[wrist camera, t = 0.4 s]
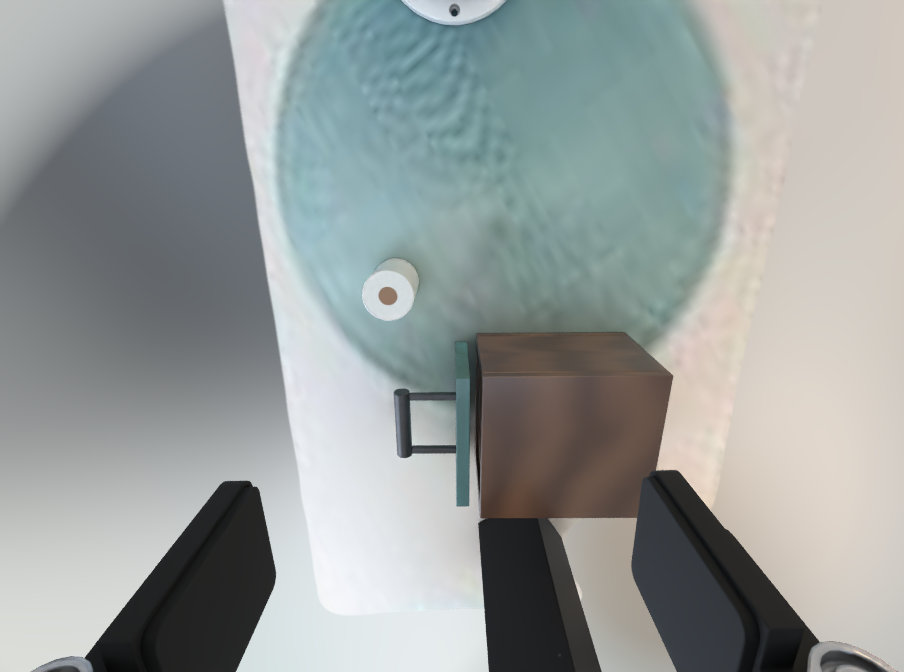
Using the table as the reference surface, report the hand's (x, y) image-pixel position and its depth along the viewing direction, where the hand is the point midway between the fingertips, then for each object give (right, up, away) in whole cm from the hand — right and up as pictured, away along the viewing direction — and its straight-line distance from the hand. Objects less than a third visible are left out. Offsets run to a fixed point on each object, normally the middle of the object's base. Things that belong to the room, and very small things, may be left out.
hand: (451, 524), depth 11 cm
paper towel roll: (-6, +10, +33) cm, 35 cm away
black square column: (+9, -20, +44) cm, 49 cm away
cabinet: (+10, -2, +38) cm, 39 cm away
